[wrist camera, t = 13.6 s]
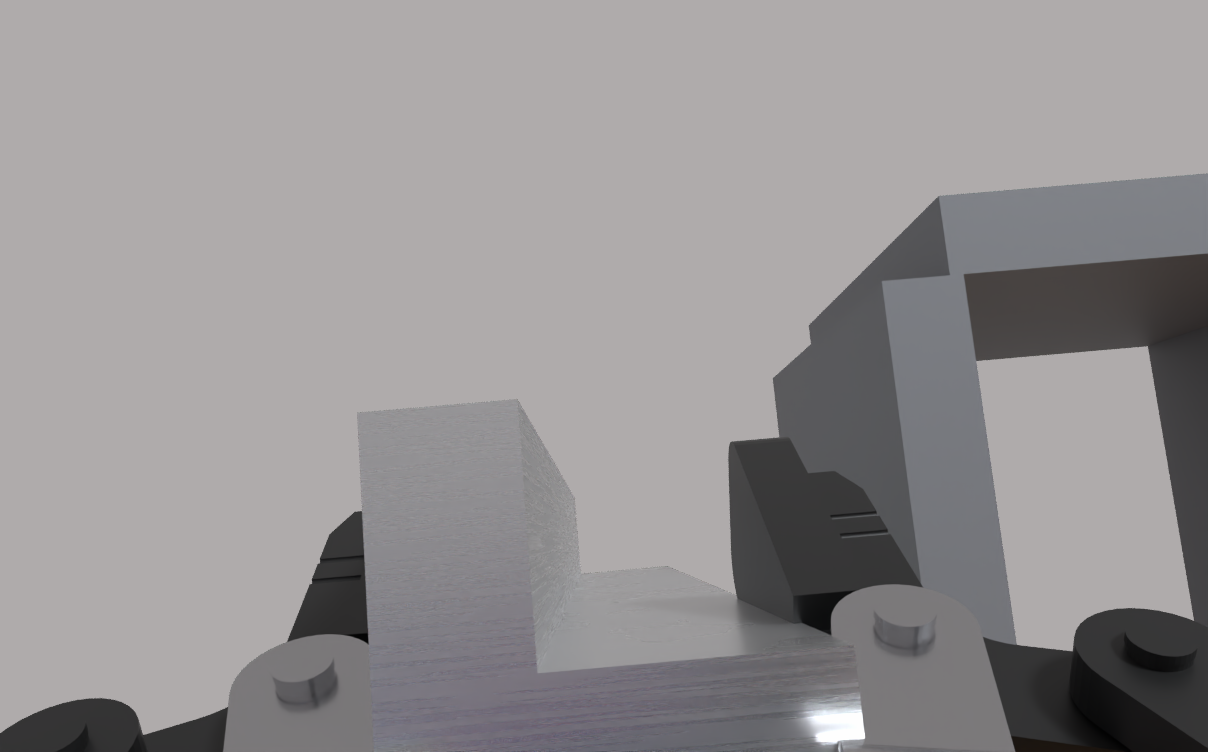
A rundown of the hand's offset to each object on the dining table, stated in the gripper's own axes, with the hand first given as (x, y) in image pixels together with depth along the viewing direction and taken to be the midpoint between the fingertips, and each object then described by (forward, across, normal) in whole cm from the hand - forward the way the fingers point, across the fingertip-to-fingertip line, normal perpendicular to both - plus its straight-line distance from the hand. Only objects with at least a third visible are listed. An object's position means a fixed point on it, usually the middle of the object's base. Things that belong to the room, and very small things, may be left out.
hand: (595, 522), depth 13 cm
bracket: (+3, 0, +4) cm, 5 cm away
